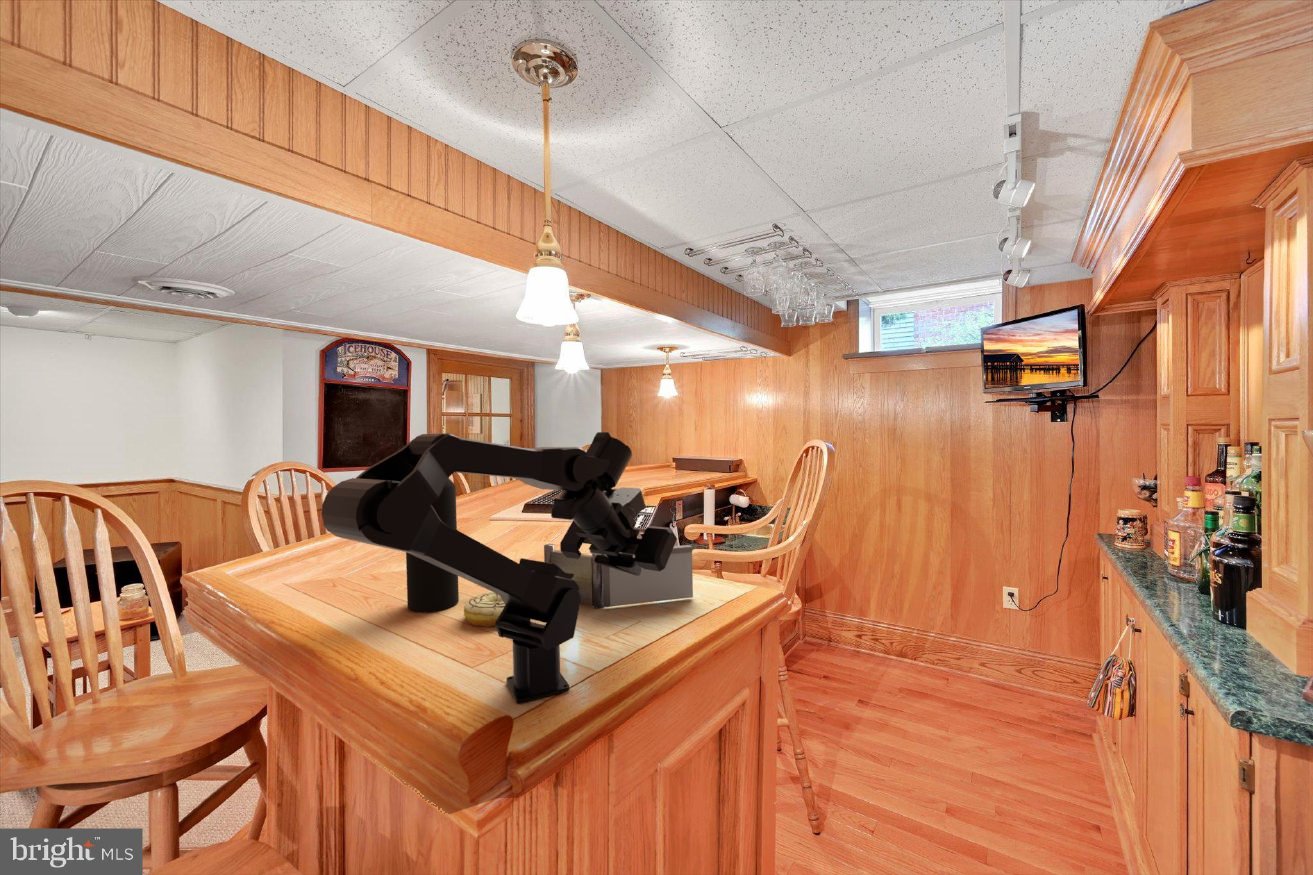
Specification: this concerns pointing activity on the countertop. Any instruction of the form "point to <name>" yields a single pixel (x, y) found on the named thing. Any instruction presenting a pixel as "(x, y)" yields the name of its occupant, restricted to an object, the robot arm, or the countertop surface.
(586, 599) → the gate frame
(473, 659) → the countertop surface
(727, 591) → the countertop surface
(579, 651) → the countertop surface
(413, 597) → the bottle
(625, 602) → the gate leaf
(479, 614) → the decorated donut
